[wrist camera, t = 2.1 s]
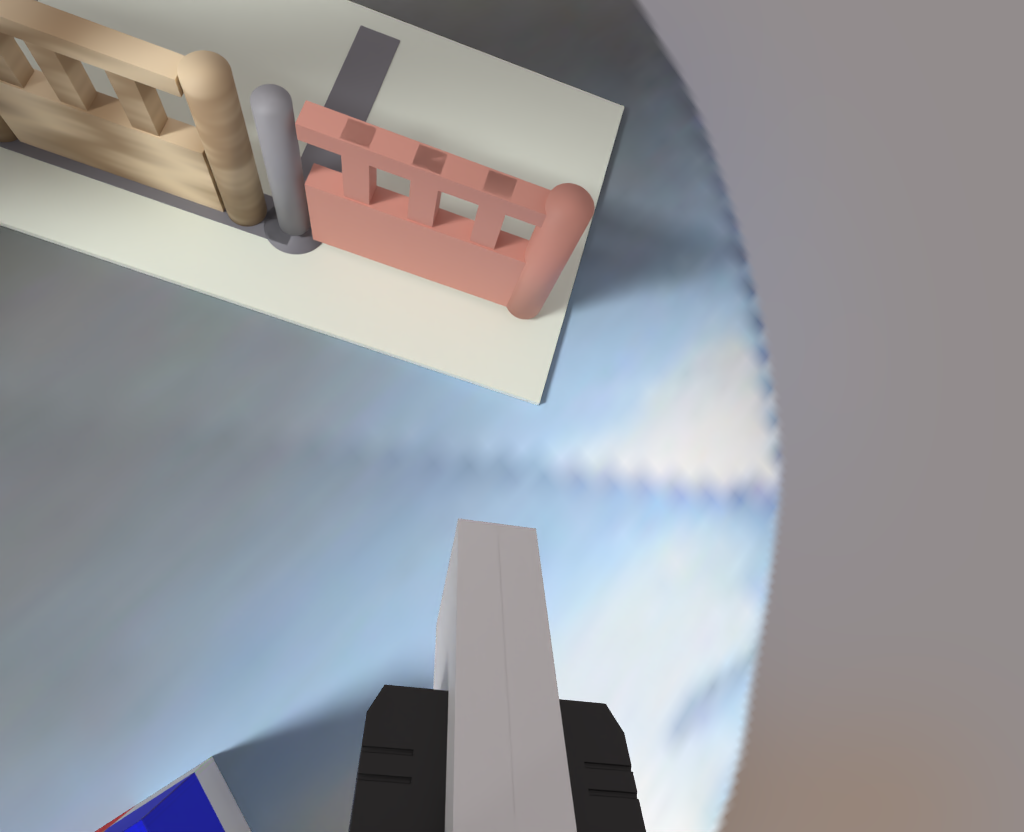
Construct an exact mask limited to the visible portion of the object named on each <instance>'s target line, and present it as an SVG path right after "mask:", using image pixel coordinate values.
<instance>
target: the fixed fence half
mask: <svg viewBox="0 0 1024 832" xmlns="http://www.w3.org/2000/svg"><path fill="white" fill-rule="evenodd" d="M14 37H15V38H18V39H21V40H23V41H24V42H25V44H26V46H27V47H28V49H29V51H30V52H31V54H32V56H33V57H34V59H35V61H36V62H37V64H38V66H39V67H40V69H41V70H42V72H41V71H39V70H36V69H33V68H32V66H31V65H30V63H29V61H28V60H27V58H26V56H25V55H24V53H23V52H22V50H21V48H20V47H19V45H18V44H17V42H16V40H15V39H14ZM81 61H82V62H84V63H87V64H90V65H93V66H95V67H98V68H101V69H104V70H105V72H106V74H107V77H108V79H109V81H110V83H111V85H112V87H113V89H114V91H115V93H116V95H117V97H118V99H117V98H114V97H111V96H108V95H106V94H103V93H100V92H97V91H96V90H95V88H94V86H93V84H92V82H91V80H90V78H89V76H88V74H87V73H86V71H85V69H84V67H83V65H82V63H81ZM156 89H159V90H162V91H164V92H167V93H170V94H173V95H176V96H178V97H182V95H183V93H184V95H185V98H186V100H187V103H188V106H189V109H190V111H191V114H192V117H193V120H194V122H195V125H196V127H195V126H192V125H189V124H187V123H184V122H181V121H178V120H175V119H173V118H170V117H167V115H166V112H165V110H164V107H163V105H162V102H161V100H160V98H159V95H158V93H157V90H156ZM17 139H19V141H20V142H23V143H26V144H29V145H32V146H34V147H37V148H40V149H43V150H46V151H49V152H52V153H55V154H57V155H60V156H63V157H66V158H69V159H72V160H75V161H78V162H80V163H83V164H86V165H89V166H92V167H95V168H98V169H101V170H103V171H106V172H109V173H112V174H115V175H118V176H121V177H124V178H126V179H129V180H132V181H135V182H138V183H141V184H144V185H147V186H149V187H152V188H155V189H158V190H161V191H164V192H167V193H170V194H172V195H175V196H178V197H181V198H184V199H187V200H190V201H193V202H195V203H198V204H201V205H204V206H207V207H210V208H213V209H216V210H218V211H221V212H224V210H225V208H226V211H227V214H228V216H229V218H230V219H231V220H232V221H233V222H234V223H236V224H238V225H240V226H246V227H249V226H254V225H257V224H259V223H260V222H262V221H263V219H264V218H265V216H266V214H267V206H266V202H265V198H264V194H263V190H262V186H261V182H260V179H259V175H258V171H257V167H256V163H255V159H254V155H253V151H252V147H251V144H250V140H249V136H248V132H247V128H246V124H245V120H244V116H243V113H242V109H241V105H240V101H239V97H238V93H237V89H236V85H235V82H234V78H233V74H232V70H231V67H230V64H229V63H228V61H227V60H226V59H225V58H224V57H222V56H221V55H219V54H217V53H215V52H212V51H206V50H200V51H194V52H191V53H189V54H187V55H186V56H185V55H182V54H179V53H176V52H174V51H171V50H168V49H165V48H163V47H160V46H157V45H155V44H152V43H149V42H146V41H144V40H141V39H138V38H136V37H133V36H130V35H127V34H125V33H122V32H119V31H117V30H114V29H111V28H108V27H106V26H103V25H100V24H98V23H95V22H92V21H89V20H87V19H84V18H81V17H78V16H76V15H73V14H70V13H68V12H65V11H62V10H59V9H57V8H54V7H51V6H49V5H46V4H43V3H40V2H38V1H35V0H0V142H11V141H15V140H17Z"/></svg>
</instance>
